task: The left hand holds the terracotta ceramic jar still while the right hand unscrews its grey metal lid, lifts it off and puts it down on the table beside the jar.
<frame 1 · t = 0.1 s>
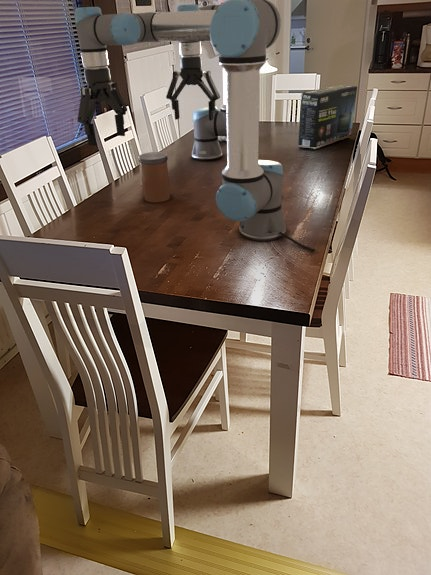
left hand: (194, 119, 172), 28 cm above the table, tool pointing down, fingers open, 13 cm apart
right hand: (107, 140, 148), 28 cm above the table, tool pointing down, fingers open, 13 cm apart
jar: (157, 197, 181), on the table
router box: (325, 143, 245), on the table
fossil: (233, 140, 257), on the table
lid: (153, 156, 173), point 16 cm above the table, screwed on, not yet turned
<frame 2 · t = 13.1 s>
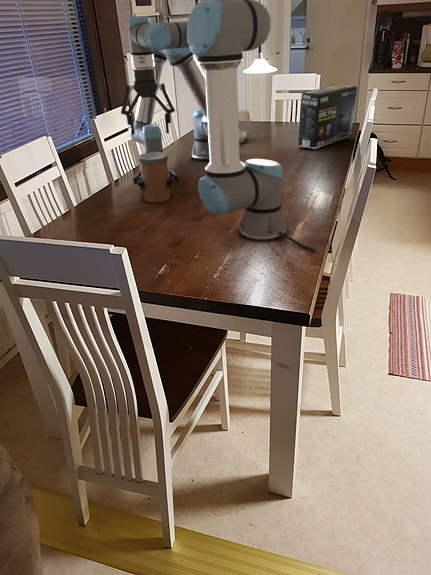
left hand: (155, 185, 174), 6 cm above the table, tool horizontal, fingers closed on jar, 10 cm apart
right hand: (150, 133, 168), 25 cm above the table, tool pointing down, fingers open, 12 cm apart
jar: (157, 197, 181), on the table, touching left hand
everything else where it was.
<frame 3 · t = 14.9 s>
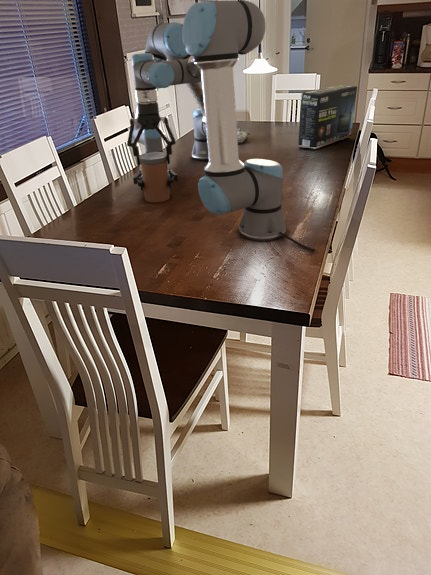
left hand: (155, 185, 174), 6 cm above the table, tool horizontal, fingers closed on jar, 10 cm apart
right hand: (153, 163, 174), 14 cm above the table, tool pointing down, fingers closed on lid, 11 cm apart
jar: (157, 197, 181), on the table, touching left hand
lid: (153, 156, 173), point 16 cm above the table, screwed on, not yet turned, touching right hand
everything else where it was.
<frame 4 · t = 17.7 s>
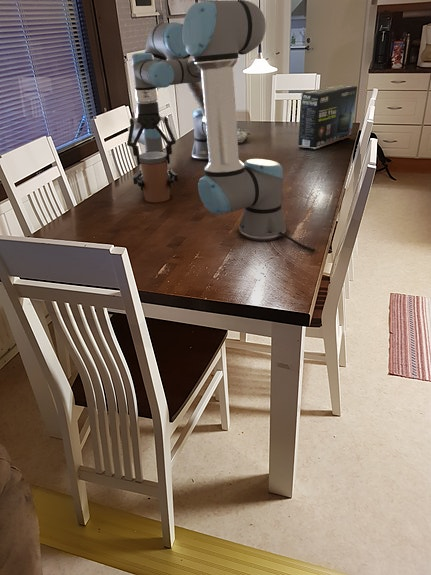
left hand: (155, 185, 174), 6 cm above the table, tool horizontal, fingers closed on jar, 10 cm apart
right hand: (153, 163, 174), 14 cm above the table, tool pointing down, fingers closed on lid, 11 cm apart
jar: (157, 197, 181), on the table, touching left hand
lid: (153, 156, 173), point 16 cm above the table, turned 71° so far, risen 0.2 cm, still on its thread, touching right hand
everything else where it was.
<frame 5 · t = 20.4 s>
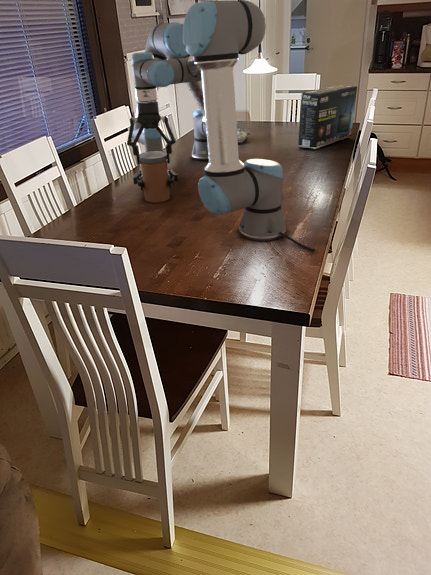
left hand: (155, 185, 174), 6 cm above the table, tool horizontal, fingers closed on jar, 10 cm apart
right hand: (153, 163, 174), 14 cm above the table, tool pointing down, fingers closed on lid, 11 cm apart
jar: (157, 197, 181), on the table, touching left hand
lid: (153, 155, 173), point 17 cm above the table, turned 143° so far, risen 0.4 cm, still on its thread, touching right hand
everything else where it was.
when the right hand's fingers open (0 cm above the table, at t = 26.7 s): lid drops 2 cm, point 1 cm above the table.
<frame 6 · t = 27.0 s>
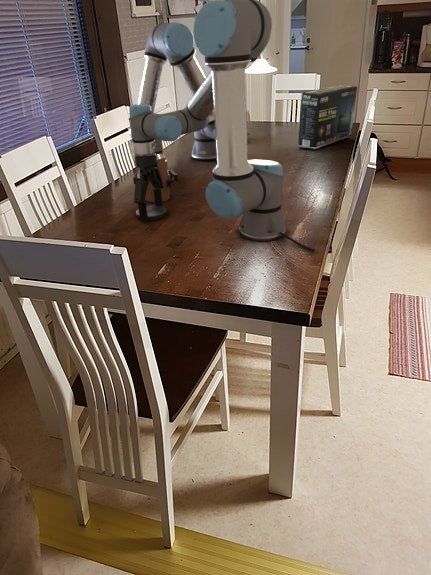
left hand: (155, 185, 174), 6 cm above the table, tool horizontal, fingers closed on jar, 10 cm apart
right hand: (151, 212, 165), 1 cm above the table, tool pointing down, fingers open, 13 cm apart
jar: (157, 197, 181), on the table, touching left hand
lid: (151, 211, 165), point 1 cm above the table, off its thread
everything else where it was.
when the left hand's fingers open (6 cm above the table, at t = 27.8 s): jar stays where it is, on the table.
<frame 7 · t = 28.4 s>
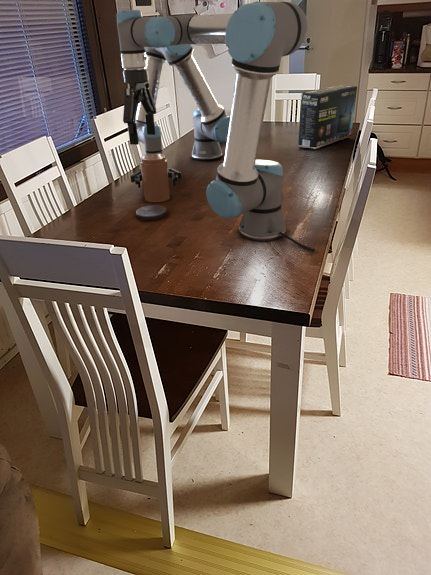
left hand: (156, 183, 177), 6 cm above the table, tool horizontal, fingers open, 13 cm apart
right hand: (143, 139, 152), 27 cm above the table, tool pointing down, fingers open, 13 cm apart
jar: (157, 197, 181), on the table
everything else where it was.
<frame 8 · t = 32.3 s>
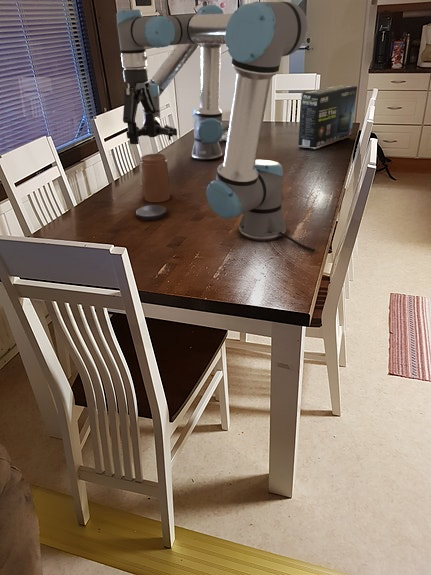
left hand: (151, 137, 179), 21 cm above the table, tool horizontal, fingers open, 13 cm apart
right hand: (143, 139, 152), 27 cm above the table, tool pointing down, fingers open, 13 cm apart
nothing on the table moved.
at the end: lid came off its thread; lid point 1.4 cm above the table; the left hand is holding nothing; the right hand is holding nothing; jar tilted 0°; jar moved 0.0 cm from its start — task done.
